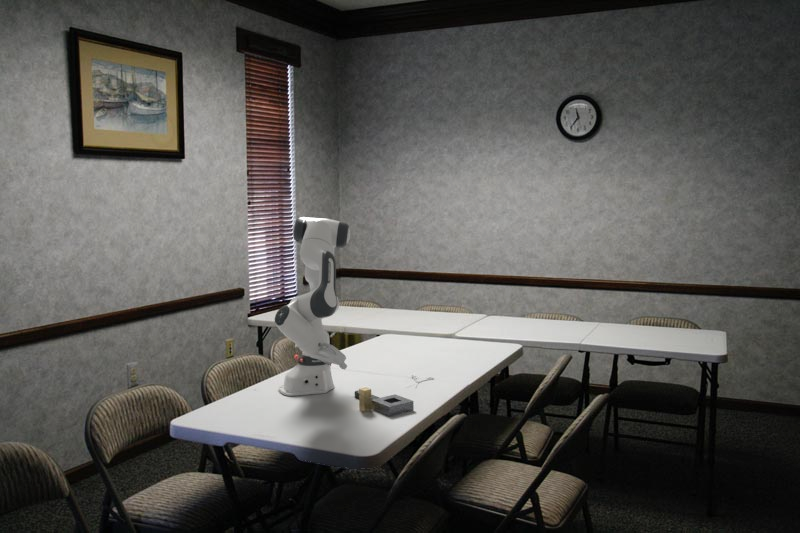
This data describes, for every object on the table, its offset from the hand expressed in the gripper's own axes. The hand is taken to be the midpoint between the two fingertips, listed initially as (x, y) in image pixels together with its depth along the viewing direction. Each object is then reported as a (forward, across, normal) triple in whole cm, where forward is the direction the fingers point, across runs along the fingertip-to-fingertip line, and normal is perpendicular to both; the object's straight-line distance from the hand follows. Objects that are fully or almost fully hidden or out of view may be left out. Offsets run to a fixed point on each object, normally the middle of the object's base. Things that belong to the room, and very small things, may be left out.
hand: (337, 365), depth 244 cm
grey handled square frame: (+27, +4, -1) cm, 28 cm away
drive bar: (+22, +1, +5) cm, 22 cm away
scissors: (+49, +18, -22) cm, 57 cm away
